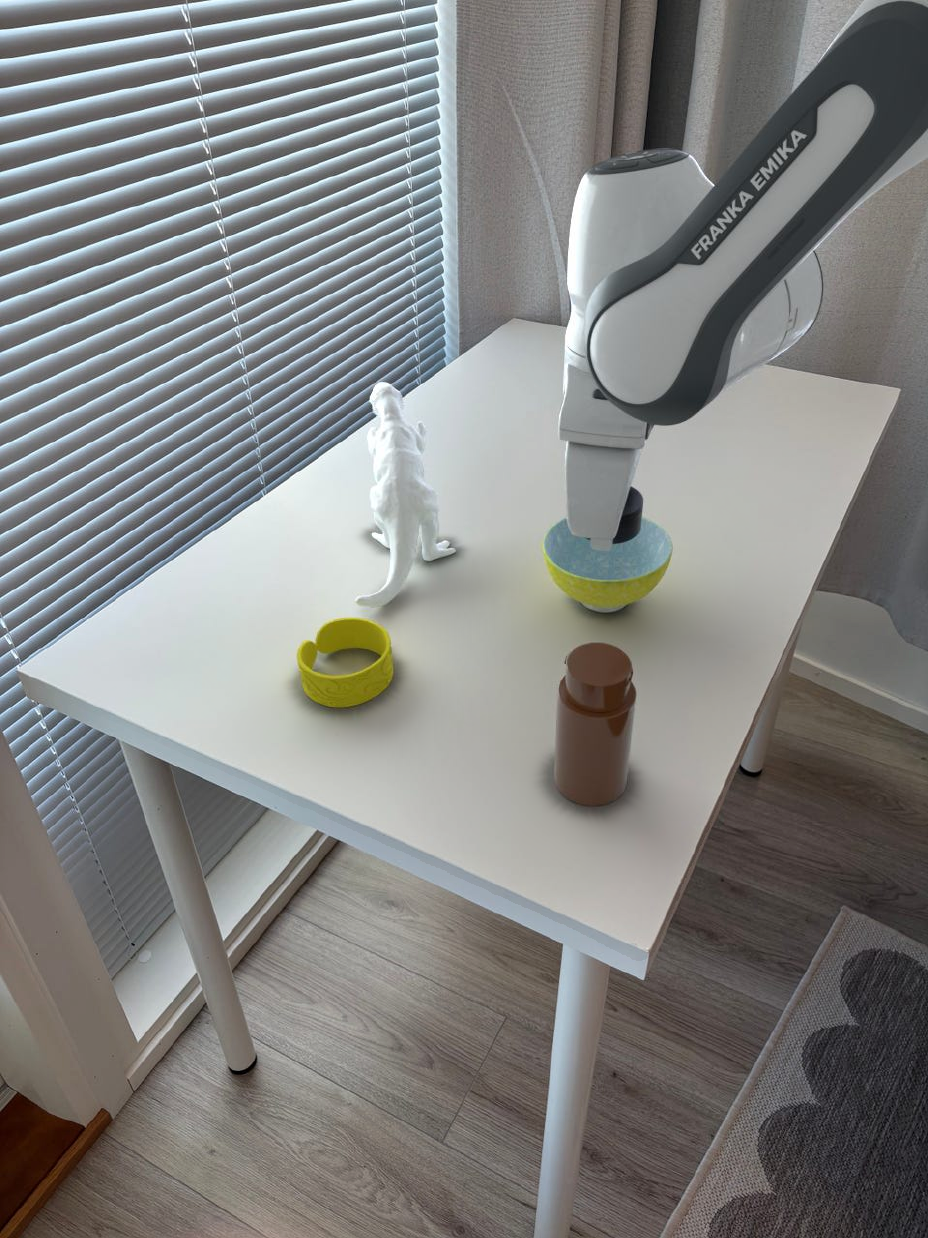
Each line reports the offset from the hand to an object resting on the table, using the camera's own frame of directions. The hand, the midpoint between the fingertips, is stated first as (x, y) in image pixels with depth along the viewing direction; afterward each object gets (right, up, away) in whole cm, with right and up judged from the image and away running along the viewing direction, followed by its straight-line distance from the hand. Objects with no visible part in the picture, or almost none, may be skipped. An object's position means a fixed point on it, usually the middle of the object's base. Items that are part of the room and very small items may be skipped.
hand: (609, 524), depth 83 cm
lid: (0, +2, -1) cm, 2 cm away
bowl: (0, -6, +5) cm, 8 cm away
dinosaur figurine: (-19, -3, +11) cm, 22 cm away
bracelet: (-23, -13, -2) cm, 26 cm away
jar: (-3, -20, -12) cm, 24 cm away
